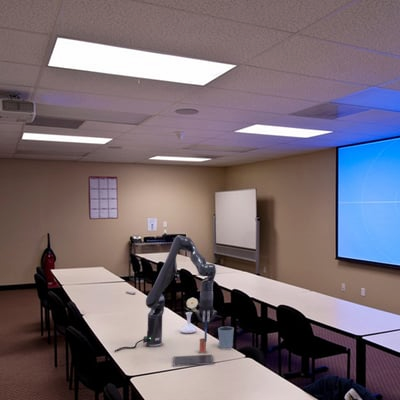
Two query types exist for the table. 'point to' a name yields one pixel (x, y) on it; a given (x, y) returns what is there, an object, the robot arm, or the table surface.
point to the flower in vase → (189, 327)
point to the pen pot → (202, 345)
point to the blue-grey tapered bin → (226, 337)
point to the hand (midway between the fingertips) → (205, 328)
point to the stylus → (205, 330)
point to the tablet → (193, 360)
